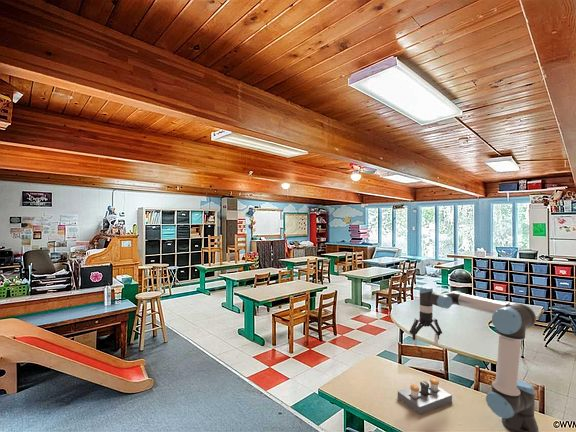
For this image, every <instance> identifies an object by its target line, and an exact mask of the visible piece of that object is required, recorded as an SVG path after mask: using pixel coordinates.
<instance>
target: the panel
mask: <svg viewBox="0 0 576 432" xmlns="http://www.w3.org/2000/svg"><path fill="white" fill-rule="evenodd" d="M426 382H427V383H429V388H428V396H424V395H422V394H421V385H420V383H418V384H416V385H417V386H419V391H418V399H417V400H414V399H413V398H411V389H410V386H409V387H406V388H403V389H400V390H397V399H398V400H400V401H401V402H403V403H404V404H405V405H406V406H408V407H409V408H411V409H412V410H414V411H415V412H416V413H417V414H419V415H421V414H425V413H427V412H429V411H432V410H435V409H436V408H440V407H442V406H445V405H447V404H450V403H452V402H453V394H451V393H449V392H447V390H444V389H443V388H441V387H440V386H438V392H436V393H434V392H432V391H431V390H430V388H431V383H430V380H428V381H427V380H426Z"/></svg>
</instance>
